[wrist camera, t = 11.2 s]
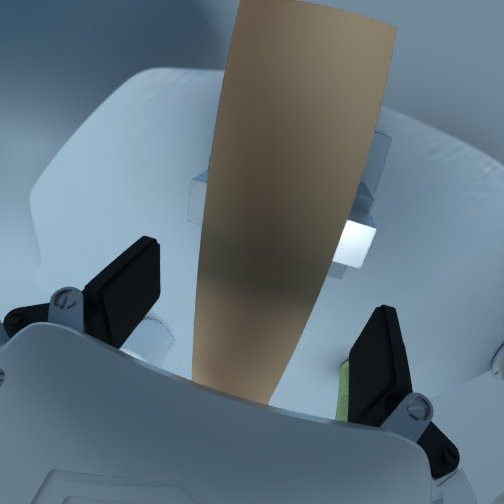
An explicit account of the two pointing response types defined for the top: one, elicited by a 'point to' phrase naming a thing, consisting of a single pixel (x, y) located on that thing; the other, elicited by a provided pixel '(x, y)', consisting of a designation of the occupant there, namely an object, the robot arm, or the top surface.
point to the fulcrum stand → (359, 219)
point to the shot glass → (148, 342)
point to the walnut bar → (281, 182)
